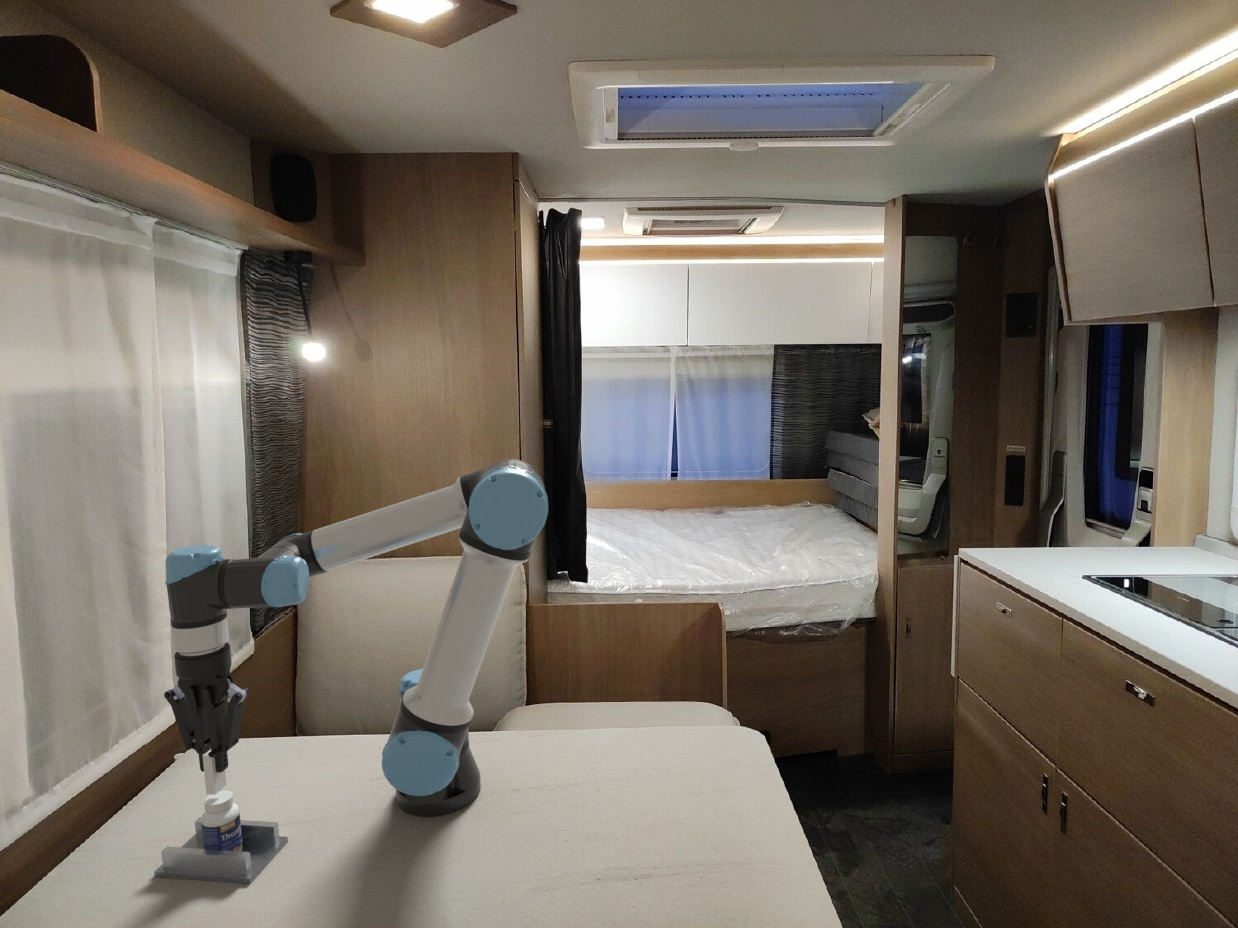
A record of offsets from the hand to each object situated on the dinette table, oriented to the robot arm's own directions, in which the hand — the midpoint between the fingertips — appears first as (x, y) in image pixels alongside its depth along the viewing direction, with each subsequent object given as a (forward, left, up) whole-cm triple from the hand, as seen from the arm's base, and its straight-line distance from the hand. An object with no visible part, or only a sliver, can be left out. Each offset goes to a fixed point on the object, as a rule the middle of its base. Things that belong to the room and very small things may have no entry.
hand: (216, 789), depth 115 cm
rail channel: (0, 0, -12) cm, 12 cm away
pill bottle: (0, 0, -11) cm, 11 cm away
